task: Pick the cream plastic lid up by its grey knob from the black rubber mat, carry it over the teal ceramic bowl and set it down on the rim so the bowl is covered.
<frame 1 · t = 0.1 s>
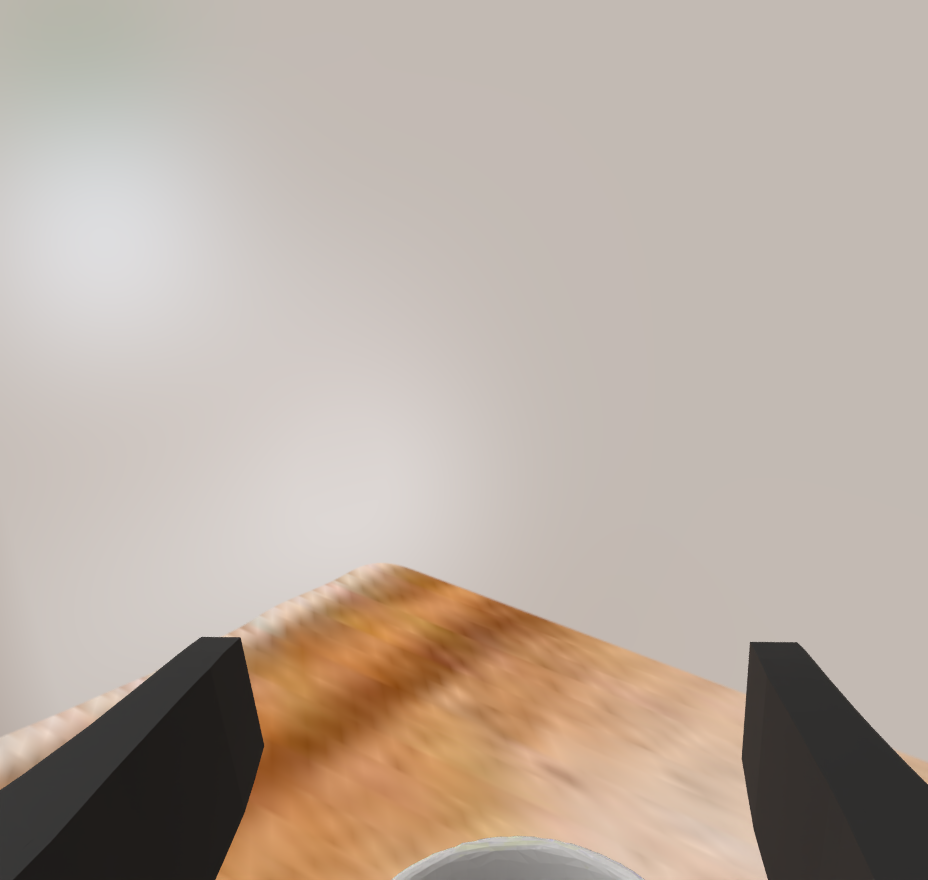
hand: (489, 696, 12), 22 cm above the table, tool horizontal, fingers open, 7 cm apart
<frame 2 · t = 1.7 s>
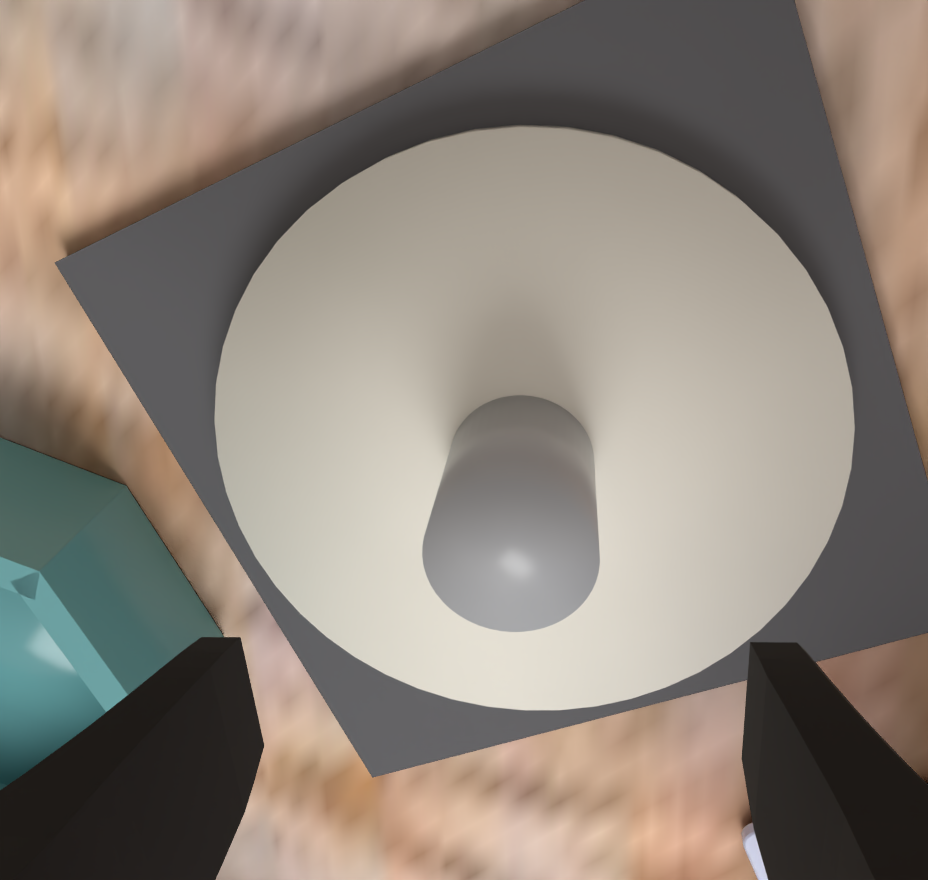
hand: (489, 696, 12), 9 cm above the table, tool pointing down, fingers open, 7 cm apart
bowl: (3, 625, 25), on the table
lid: (523, 447, 20), resting on mat
mat: (524, 438, 20), on the table
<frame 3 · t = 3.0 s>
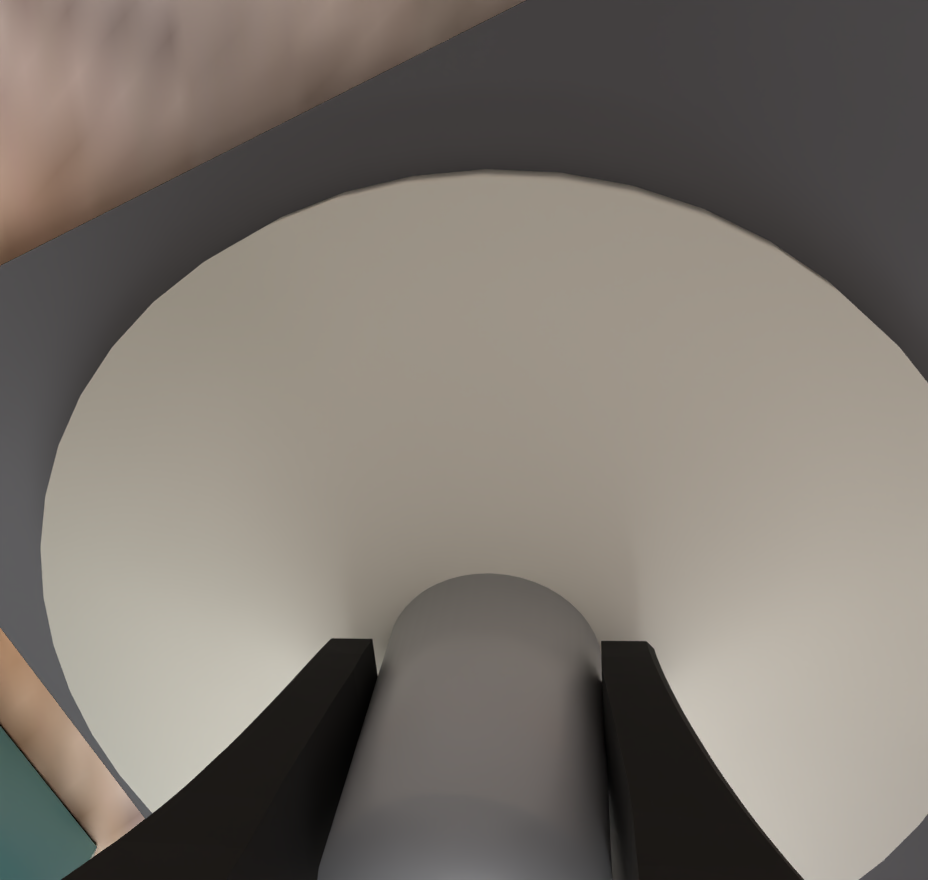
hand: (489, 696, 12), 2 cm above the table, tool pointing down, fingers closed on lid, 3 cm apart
lid: (498, 631, 14), resting on mat, touching gripper
mat: (500, 612, 14), on the table
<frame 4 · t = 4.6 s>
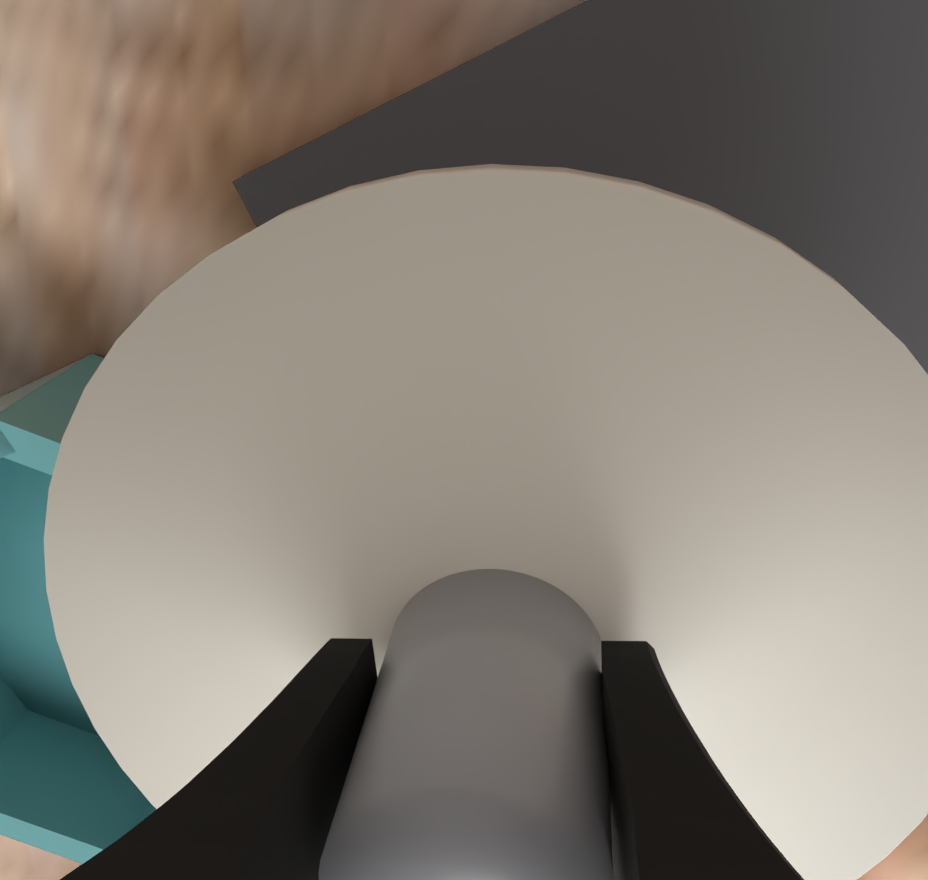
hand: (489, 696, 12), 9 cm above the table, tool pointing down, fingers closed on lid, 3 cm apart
bowl: (144, 581, 24), on the table
lid: (500, 627, 14), point 8 cm above the table, touching gripper
mat: (722, 366, 19), on the table
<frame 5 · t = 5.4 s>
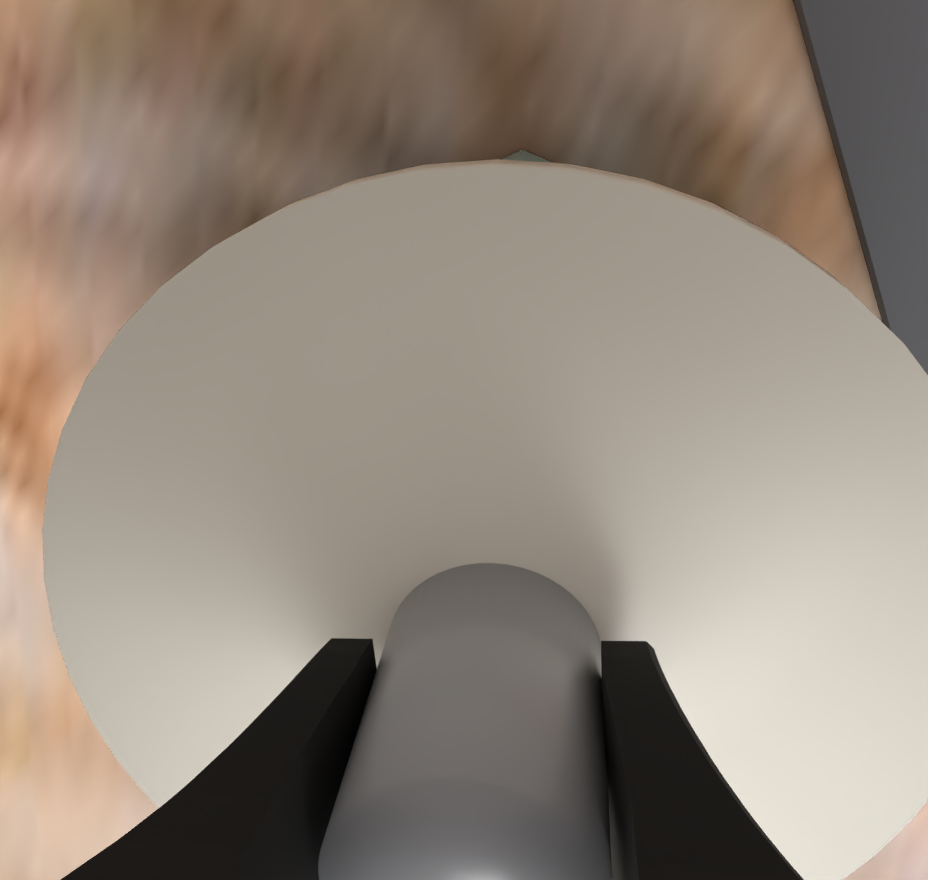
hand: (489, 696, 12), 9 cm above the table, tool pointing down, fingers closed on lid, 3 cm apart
bowl: (523, 444, 20), on the table
lid: (497, 621, 14), point 7 cm above the table, touching gripper
when the fingers open (7 cm above the table, at t = 6.0 s): lid drops 1 cm, resting on bowl.
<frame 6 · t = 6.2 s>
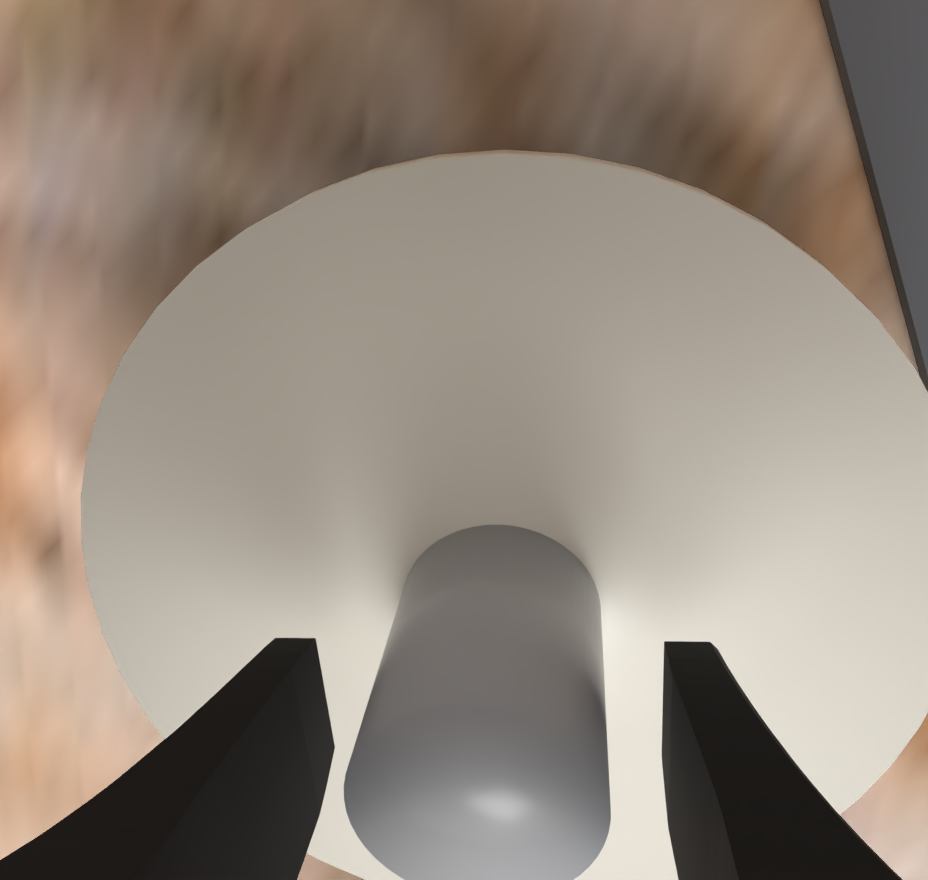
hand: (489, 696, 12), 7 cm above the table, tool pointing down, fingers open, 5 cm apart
lid: (503, 583, 15), point 4 cm above the table, touching bowl
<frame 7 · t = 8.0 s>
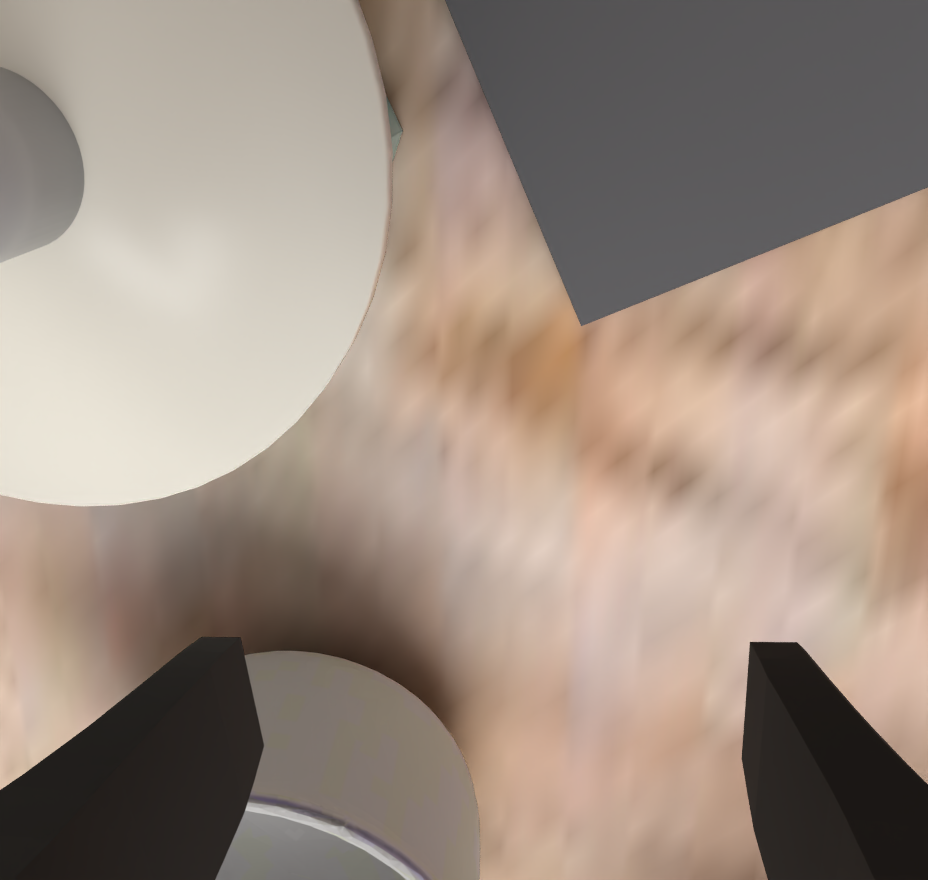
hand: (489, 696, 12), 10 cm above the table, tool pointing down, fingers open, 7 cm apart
bowl: (122, 140, 20), on the table
lid: (22, 155, 16), point 4 cm above the table, touching bowl
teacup: (354, 769, 28), on the table
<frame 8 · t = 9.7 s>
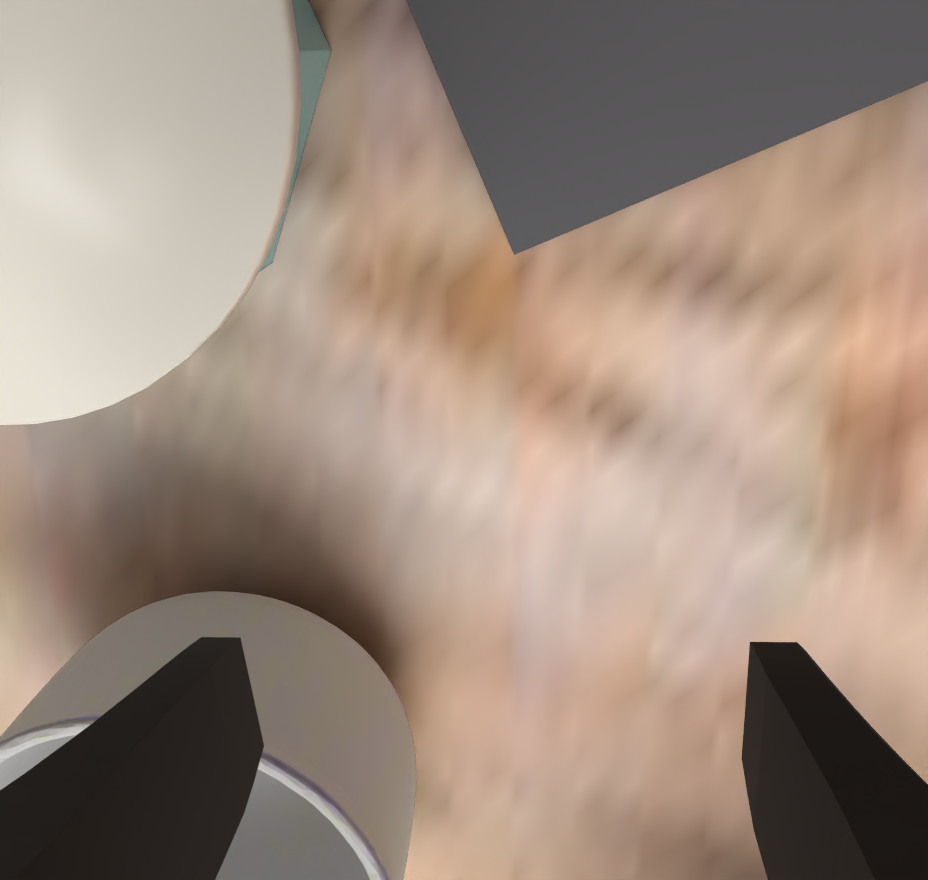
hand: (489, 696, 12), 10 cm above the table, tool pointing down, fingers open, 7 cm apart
bowl: (51, 60, 20), on the table
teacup: (300, 720, 27), on the table
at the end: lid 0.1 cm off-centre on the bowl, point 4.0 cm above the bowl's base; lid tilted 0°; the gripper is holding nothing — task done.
